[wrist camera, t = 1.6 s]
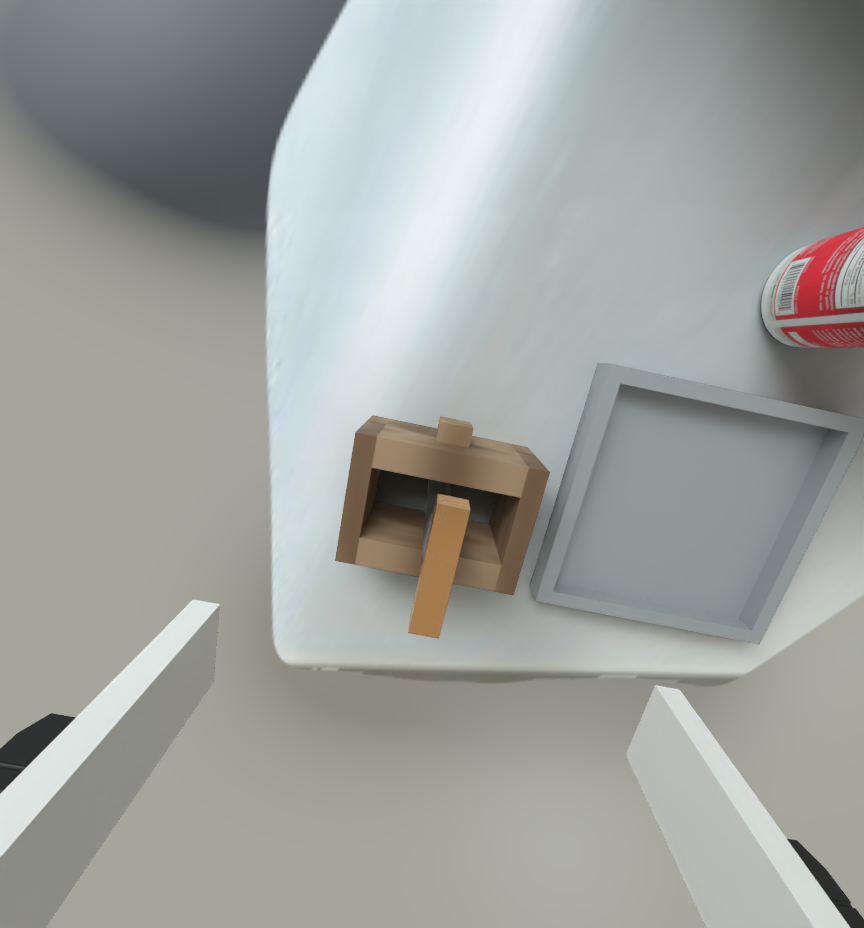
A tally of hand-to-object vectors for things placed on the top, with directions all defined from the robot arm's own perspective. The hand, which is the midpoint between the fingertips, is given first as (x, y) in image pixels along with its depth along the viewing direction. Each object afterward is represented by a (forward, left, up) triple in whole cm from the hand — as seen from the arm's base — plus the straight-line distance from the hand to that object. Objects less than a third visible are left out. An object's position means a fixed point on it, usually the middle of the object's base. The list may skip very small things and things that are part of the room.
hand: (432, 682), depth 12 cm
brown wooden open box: (0, 0, -18) cm, 18 cm away
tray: (-2, +17, -18) cm, 25 cm away
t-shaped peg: (0, 0, -18) cm, 18 cm away
